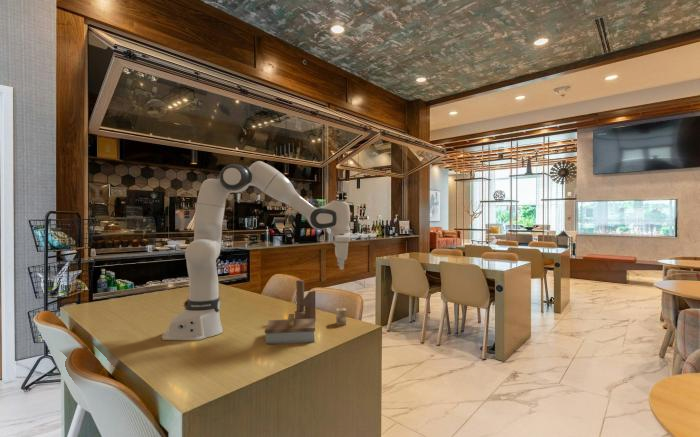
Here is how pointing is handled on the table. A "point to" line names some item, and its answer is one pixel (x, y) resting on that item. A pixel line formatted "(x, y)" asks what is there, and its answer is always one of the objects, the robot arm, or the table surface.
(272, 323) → the lid
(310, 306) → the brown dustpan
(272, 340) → the grey shallow tray
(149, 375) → the table surface
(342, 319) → the beige block
